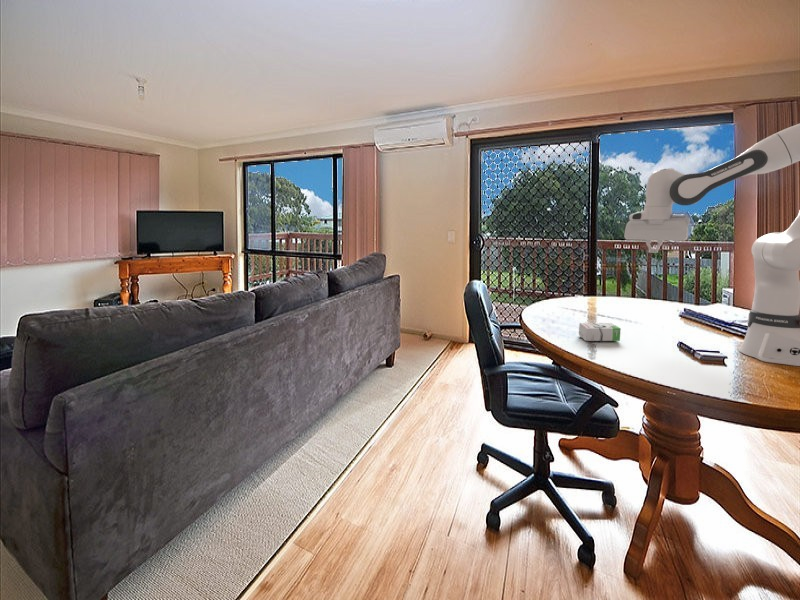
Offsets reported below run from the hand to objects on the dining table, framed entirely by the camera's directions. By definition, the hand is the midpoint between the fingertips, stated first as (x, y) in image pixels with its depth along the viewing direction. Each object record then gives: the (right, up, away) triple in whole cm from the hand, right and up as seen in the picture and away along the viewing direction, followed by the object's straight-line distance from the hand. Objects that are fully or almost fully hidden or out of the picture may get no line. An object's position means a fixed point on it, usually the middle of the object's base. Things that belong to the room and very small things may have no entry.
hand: (653, 252), depth 154 cm
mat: (-19, -31, +3) cm, 37 cm away
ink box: (-16, -29, -3) cm, 33 cm away
